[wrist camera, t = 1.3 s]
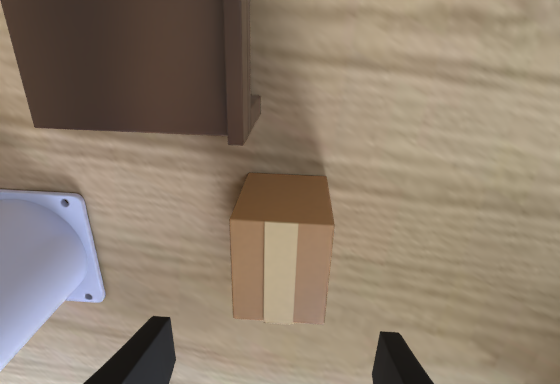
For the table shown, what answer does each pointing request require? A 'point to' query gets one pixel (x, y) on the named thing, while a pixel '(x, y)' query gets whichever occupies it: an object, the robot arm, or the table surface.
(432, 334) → the table surface
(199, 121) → the rack
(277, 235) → the parcel
